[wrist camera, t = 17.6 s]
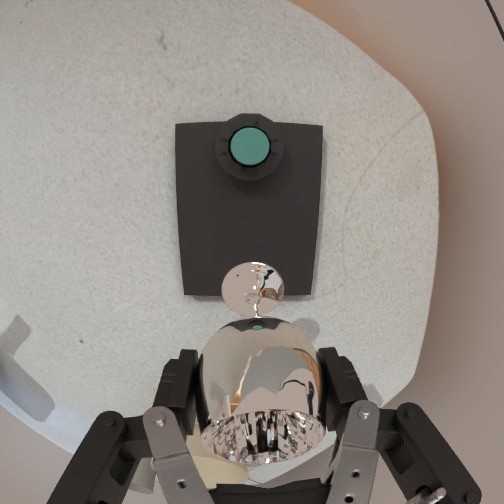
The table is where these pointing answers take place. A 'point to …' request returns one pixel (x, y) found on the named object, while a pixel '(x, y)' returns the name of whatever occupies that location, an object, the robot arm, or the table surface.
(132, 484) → the cup
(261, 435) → the wineglass
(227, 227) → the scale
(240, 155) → the power button
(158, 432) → the robot arm
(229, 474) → the bowl
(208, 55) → the table surface
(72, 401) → the table surface
